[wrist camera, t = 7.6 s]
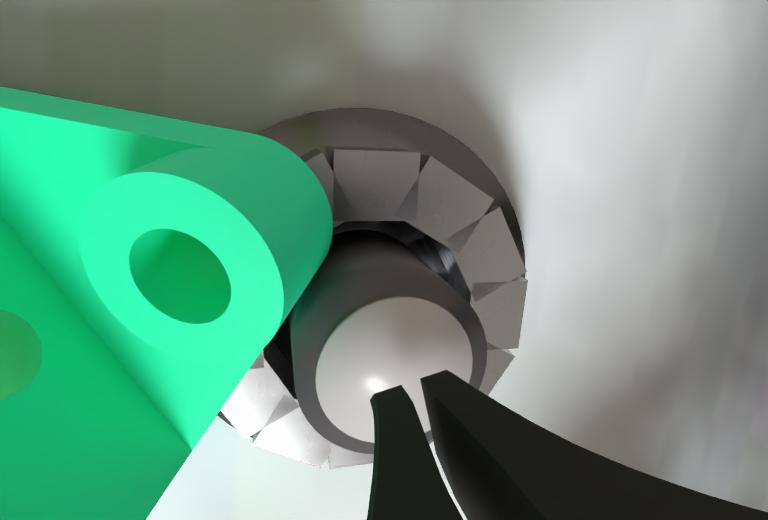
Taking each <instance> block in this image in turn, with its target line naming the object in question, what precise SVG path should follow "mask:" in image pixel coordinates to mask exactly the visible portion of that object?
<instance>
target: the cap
mask: <svg viewBox="0 0 768 520" xmlns="http://www.w3.org/2000/svg"><path fill="white" fill-rule="evenodd" d="M289 324H290V336H291V349H292V361H293V373H294V384H295V392H296V396H297V400H298V403H299V406H300V408H301V411H302V413H303V414H304V416H305V418H306V419H307V421H308V422H309V424H310V425H311V426H312V427H313V428H314V429H315V430H316V431H317V432H318V433H319V434H320V435H321V436H323V437H324V438H325V439H327V440H328V441H330V442H331V443H333V444H335V445H337V446H339V447H342V448H344V449H347V450H350V451H354V452H358V453H364V454H374V418H373V411H372V407H371V403H370V399H371V397H372V396H373V394H375V393H378V392H381V391H384V390H387V389H390V388H393V387H396V386H399V385H402V387H403V388H404V389H405V391H406V392H407V394H408V395H409V397H410V398H411V400H412V401H413V403H414V406H415V409H416V411H417V414H418V416H419V419H420V422H421V424H422V427H423V430H424V432H425V435H426V438H427V440H428V441H430V440H432V439H433V436H432V432H431V427H430V423H429V418H428V413H427V409H426V404H425V400H424V395H423V390H422V386H421V381H420V378H423V377H426V376H429V375H432V374H435V373H438V372H441V371H444V370H448V371H450V372H452V373H453V374H455V375H456V376H458V377H459V378H461V379H462V380H464V381H466V382H467V383H469V384H470V385H472V386H473V387H475V388H476V389H478V390H479V388H480V386H481V383H482V380H483V377H484V374H485V369H486V363H487V343H486V337H485V333H484V329H483V327H482V324H481V322H480V319H479V317H478V316H477V314H476V312H475V311H474V309H473V308H472V307H471V306H470V304H469V303H468V302H467V301H466V300H465V299H464V298H463V297H462V296H461V295H460V294H459V293H457V292H456V291H455V290H454V289H453V288H452V287H451V286H450V285H449V284H448V283H447V282H445V281H444V280H443V279H442V278H441V277H440V276H439V275H438V274H437V273H436V272H435V271H433V270H432V269H431V268H430V267H429V266H428V265H427V264H426V263H425V262H424V261H423V260H421V259H420V258H419V257H418V256H417V255H416V254H415V253H414V252H413V251H412V250H411V249H409V248H408V247H407V246H406V245H405V244H404V243H403V242H401V241H400V240H398V239H397V238H395V237H393V236H391V235H389V234H386V233H383V232H379V231H374V230H363V229H360V230H350V231H345V232H341V233H338V234H336V235H333V236H332V241H331V245H330V248H329V251H328V254H327V256H326V258H325V259H324V261H323V263H322V264H321V266H320V267H319V269H318V270H317V272H316V273H315V275H314V276H313V278H312V279H311V281H310V282H309V284H308V285H307V287H306V288H305V290H304V291H303V293H302V295H301V296H300V298H299V299H298V301H297V302H296V304H295V305H294V307H293V308H292V310H291V311H290V313H289Z"/></svg>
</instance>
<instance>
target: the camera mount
mask: <svg viewBox="0 0 768 520" xmlns="http://www.w3.org/2000/svg"><path fill="white" fill-rule="evenodd" d="M332 234H333V220H332V213H331V208H330V204H329V201H328V198H327V196H326V194H325V191H324V189H323V187H322V185H321V184H320V182H319V180H318V179H317V177H316V176H315V174H314V173H313V172H312V170H311V169H310V168H309V167H308V166H307V165H306V163H305V162H303V161H302V160H301V159H300V158H299V157H298V156H297V155H296V154H295V153H293V152H292V151H291V150H289V149H288V148H286V147H285V146H283V145H281V144H280V143H278V142H276V141H274V140H272V139H269V138H267V137H264V136H261V135H257V134H253V133H248V132H243V131H237V130H232V129H226V128H221V127H216V126H210V125H205V124H200V123H194V122H189V121H184V120H178V119H173V118H168V117H162V116H157V115H151V114H146V113H141V112H135V111H130V110H125V109H119V108H114V107H109V106H103V105H98V104H92V103H87V102H82V101H76V100H71V99H66V98H60V97H55V96H50V95H44V94H39V93H33V92H28V91H23V90H17V89H12V88H7V87H1V86H0V520H146V518H147V517H148V515H149V514H150V512H151V511H152V509H153V508H154V506H155V505H156V503H157V502H158V500H159V499H160V497H161V496H162V494H163V493H164V491H165V490H166V488H167V487H168V485H169V484H170V483H171V481H172V480H173V478H174V477H175V475H176V474H177V472H178V471H179V469H180V468H181V466H182V465H183V463H184V462H185V460H186V459H187V457H188V456H189V454H190V453H191V451H192V450H193V449H194V447H195V446H196V444H197V443H198V441H199V440H200V439H201V437H202V436H203V434H204V433H205V431H206V430H207V429H208V427H209V426H210V424H211V423H212V421H213V420H214V419H215V417H216V416H217V414H218V413H219V411H220V410H221V409H222V407H223V406H224V404H225V403H226V401H227V400H228V399H229V397H230V396H231V394H232V393H233V391H234V390H235V389H236V387H237V386H238V384H239V383H240V381H241V380H242V379H243V377H244V376H245V374H246V373H247V371H248V370H249V369H250V367H251V366H252V364H253V363H254V361H255V360H256V359H257V357H258V356H259V354H260V353H261V351H262V350H263V349H264V347H265V346H266V345H267V344H268V343H269V342H270V341H271V340H272V338H273V337H274V335H275V334H276V332H277V331H278V329H279V328H280V326H281V325H282V323H283V322H284V320H285V319H286V317H287V316H288V314H289V313H290V311H291V310H292V308H293V307H294V305H295V304H296V302H297V301H298V299H299V298H300V296H301V295H302V293H303V291H304V290H305V288H306V287H307V285H308V284H309V282H310V281H311V279H312V278H313V276H314V275H315V273H316V272H317V270H318V269H319V267H320V266H321V264H322V263H323V261H324V259H325V258H326V256H327V254H328V251H329V248H330V245H331V241H332Z"/></svg>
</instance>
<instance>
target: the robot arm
mask: <svg viewBox="0 0 768 520" xmlns="http://www.w3.org/2000/svg"><path fill="white" fill-rule="evenodd" d="M420 381H421V386H422V390H423V395H424V400H425V404H426V409H427V413H428V418H429V423H430V427H431V432H432V436H433V441H434V446H435V450H436V454H437V457H438V459H439V461H440V464H441V466H442V468H443V471H444V473H445V475H446V478H447V480H448V482H449V484H450V487H451V489H452V491H453V494H454V496H455V498H456V500H457V502H458V503H459V505H460V507H461V509H462V511H463V512H464V514H465V516H466V518H467V520H768V512H764V511H760V510H757V509H753V508H749V507H746V506H742V505H739V504H735V503H732V502H729V501H725V500H722V499H719V498H716V497H712V496H709V495H706V494H703V493H700V492H697V491H694V490H691V489H688V488H685V487H682V486H679V485H676V484H673V483H670V482H668V481H665V480H662V479H659V478H656V477H653V476H650V475H648V474H645V473H642V472H640V471H637V470H634V469H632V468H629V467H627V466H624V465H622V464H620V463H617V462H615V461H613V460H610V459H608V458H605V457H603V456H601V455H598V454H596V453H593V452H591V451H589V450H587V449H584V448H582V447H580V446H578V445H576V444H574V443H571V442H569V441H567V440H565V439H563V438H561V437H559V436H557V435H556V434H554V433H552V432H550V431H548V430H546V429H544V428H542V427H540V426H538V425H537V424H535V423H533V422H531V421H529V420H527V419H526V418H524V417H522V416H521V415H519V414H517V413H515V412H514V411H512V410H510V409H508V408H507V407H505V406H503V405H502V404H500V403H498V402H497V401H495V400H494V399H492V398H490V397H489V396H487V395H486V394H484V393H482V392H481V391H479V390H478V389H476V388H475V387H473V386H472V385H470V384H469V383H467V382H466V381H464V380H462V379H461V378H459V377H458V376H456V375H455V374H453V373H452V372H450V371H448V370H444V371H441V372H438V373H435V374H432V375H429V376H426V377H423V378H420ZM370 403H371V407H372V411H373V418H374V461H373V476H372V485H371V493H370V501H369V509H368V516H367V520H463V518H462V517H461V515H460V513H459V511H458V509H457V507H456V506H455V504H454V502H453V500H452V498H451V496H450V495H449V493H448V491H447V488H446V486H445V484H444V482H443V479H442V477H441V475H440V472H439V470H438V467H437V464H436V462H435V459H434V456H433V454H432V451H431V448H430V446H429V443H428V440H427V438H426V435H425V432H424V430H423V427H422V424H421V422H420V419H419V416H418V414H417V411H416V409H415V406H414V403H413V401H412V400H411V398H410V397H409V395H408V394H407V392H406V391H405V389H404V388H403V387H402V385H399V386H396V387H393V388H390V389H387V390H384V391H381V392H378V393H375V394H373V396H372V397H371V399H370Z"/></svg>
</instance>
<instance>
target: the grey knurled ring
mask: <svg viewBox="0 0 768 520" xmlns="http://www.w3.org/2000/svg"><path fill="white" fill-rule="evenodd" d="M257 135H261V136H264V137H267V138H269V139H272V140H274V141H276V142H278V143H280V144H281V145H283V146H285V147H286V148H288V149H289V150H291V151H292V152H293V153H295V154H296V155H297V156H298V157H299V158H300V159H301V160H302V161H303V162H305V163H306V165H307V166H308V167H309V168H310V169H311V170H312V172H313V173H314V174H315V176H316V177H317V179H318V180H319V182H320V184H321V185H322V187H323V189H324V191H325V194H326V196H327V198H328V201H329V204H330V208H331V213H332V220H333V234H332V236H333V235H336V234H338V233H341V232H345V231H350V230H360V229H363V230H374V231H379V232H383V233H386V234H389V235H391V236H393V237H395V238H397V239H398V240H400V241H401V242H403V243H404V244H405V245H406V246H407V247H408V248H409V249H411V250H412V251H413V252H414V253H415V254H416V255H417V256H418V257H419V258H420V259H421V260H423V261H424V262H425V263H426V264H427V265H428V266H429V267H430V268H431V269H432V270H433V271H435V272H436V273H437V274H438V275H439V276H440V277H441V278H442V279H443V280H444V281H445V282H447V283H448V284H449V285H450V286H451V287H452V288H453V289H454V290H455V291H456V292H457V293H459V294H460V295H461V296H462V297H463V298H464V299H465V300H466V301H467V302H468V303H469V304H470V306H471V307H472V308H473V309H474V311H475V312H476V314H477V316H478V317H479V319H480V322H481V324H482V327H483V329H484V333H485V337H486V343H487V363H486V369H485V374H484V377H483V380H482V383H481V386H480V388H479V391H481V392H482V393H484V394H486V395H487V396H488V394H489V393H490V391H491V390H492V389H493V387H494V386H495V384H496V383H497V381H498V380H499V378H500V377H501V376H502V374H503V373H504V371H505V370H506V368H507V367H508V365H509V364H510V362H511V361H512V360H513V358H514V357H515V356H514V355H513V354H512V353H511V352H510V351H509V350H507V349H513V348H518V345H519V338H520V331H521V324H522V317H523V310H524V303H525V296H526V289H527V282H528V280H526V279H525V272H527V271H526V269H525V255H524V247H523V241H522V236H521V231H520V227H519V224H518V221H517V218H516V215H515V212H514V209H513V207H512V205H511V203H510V201H509V199H508V197H507V195H506V193H505V191H504V189H503V188H502V186H501V185H500V183H499V182H498V180H497V179H496V177H495V176H494V174H493V173H492V172H491V170H490V169H489V168H488V167H487V166H486V165H485V164H484V163H483V162H482V160H481V159H480V158H479V157H478V156H477V155H476V154H475V153H473V152H472V151H471V150H470V149H469V148H468V147H466V146H465V145H464V144H463V143H462V142H460V141H459V140H457V139H456V138H454V137H453V136H451V135H449V134H448V133H446V132H445V131H443V130H441V129H440V128H438V127H435V126H433V125H431V124H429V123H426V122H424V121H422V120H419V119H417V118H414V117H410V116H407V115H403V114H399V113H396V112H392V111H384V110H377V109H369V108H339V109H332V110H326V111H319V112H313V113H308V114H305V115H302V116H298V117H295V118H292V119H288V120H285V121H283V122H281V123H278V124H276V125H274V126H272V127H270V128H267V129H265V130H263V131H261V132H259V133H258V134H257ZM217 415H218V416H219V417H220V418H221V419H223V420H224V421H225V422H227V423H228V424H229V425H231V426H232V427H234V428H236V430H237V431H238V432H239V433H240V434H241V436H242V437H243V438H244V439H246V438H248V437H252V438H253V445H255V446H258V447H261V448H264V449H266V450H269V451H272V452H275V453H278V454H281V455H284V456H287V457H290V458H293V459H296V460H298V461H301V462H304V463H307V464H310V465H313V466H316V467H319V468H321V466H322V465H323V463H324V462H325V460H326V459H327V457H328V462H329V467H330V469H332V468H340V467H347V466H355V465H362V464H370V463H373V461H374V454H364V453H358V452H354V451H350V450H347V449H344V448H342V447H339V446H337V445H335V444H333V443H331V442H330V441H328V440H327V439H325V438H324V437H323V436H321V435H320V434H319V433H318V432H317V431H316V430H315V429H314V428H313V427H312V426H311V425H310V424H309V422H308V421H307V419H306V418H305V416H304V414H303V413H302V411H301V408H300V406H299V403H298V400H297V396H296V392H295V384H294V373H293V361H292V349H291V336H290V324H289V314H288V316H287V317H286V319H285V320H284V322H283V323H282V325H281V326H280V328H279V329H278V331H277V332H276V334H275V335H274V337H273V338H272V340H271V341H270V342H269V343H268V344H267V345H266V346H265V347H264V349H263V350H262V351H261V353H260V354H259V356H258V357H257V359H256V360H255V361H254V363H253V364H252V366H251V367H250V369H249V370H248V371H247V373H246V374H245V376H244V377H243V379H242V380H241V381H240V383H239V384H238V386H237V387H236V389H235V390H234V391H233V393H232V394H231V396H230V397H229V399H228V400H227V401H226V403H225V404H224V406H223V407H222V409H221V410H220V411H219V413H218V414H217ZM431 442H433V439H432V440H430V441H428V443H429V444H430V443H431Z"/></svg>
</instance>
